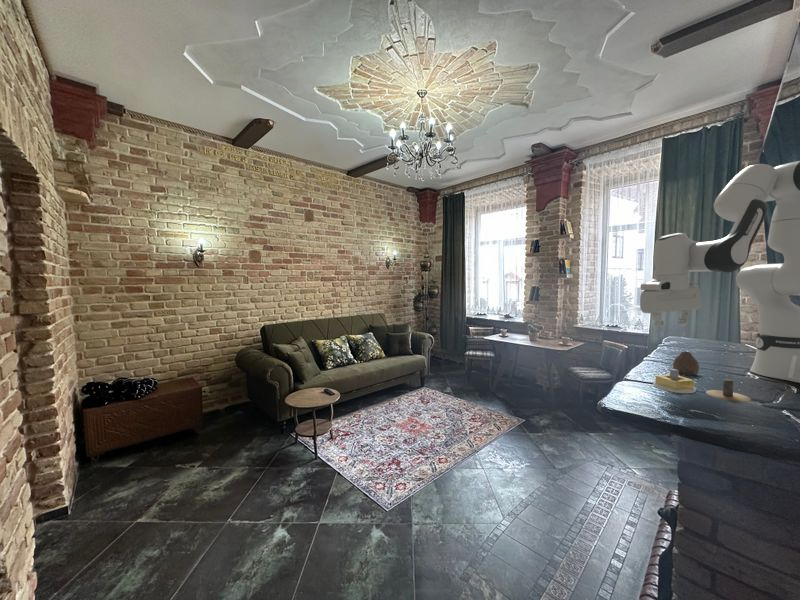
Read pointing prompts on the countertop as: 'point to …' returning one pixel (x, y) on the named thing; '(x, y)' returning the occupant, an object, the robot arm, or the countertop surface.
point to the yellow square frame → (674, 382)
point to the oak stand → (728, 393)
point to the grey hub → (675, 377)
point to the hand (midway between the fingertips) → (671, 324)
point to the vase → (686, 364)
